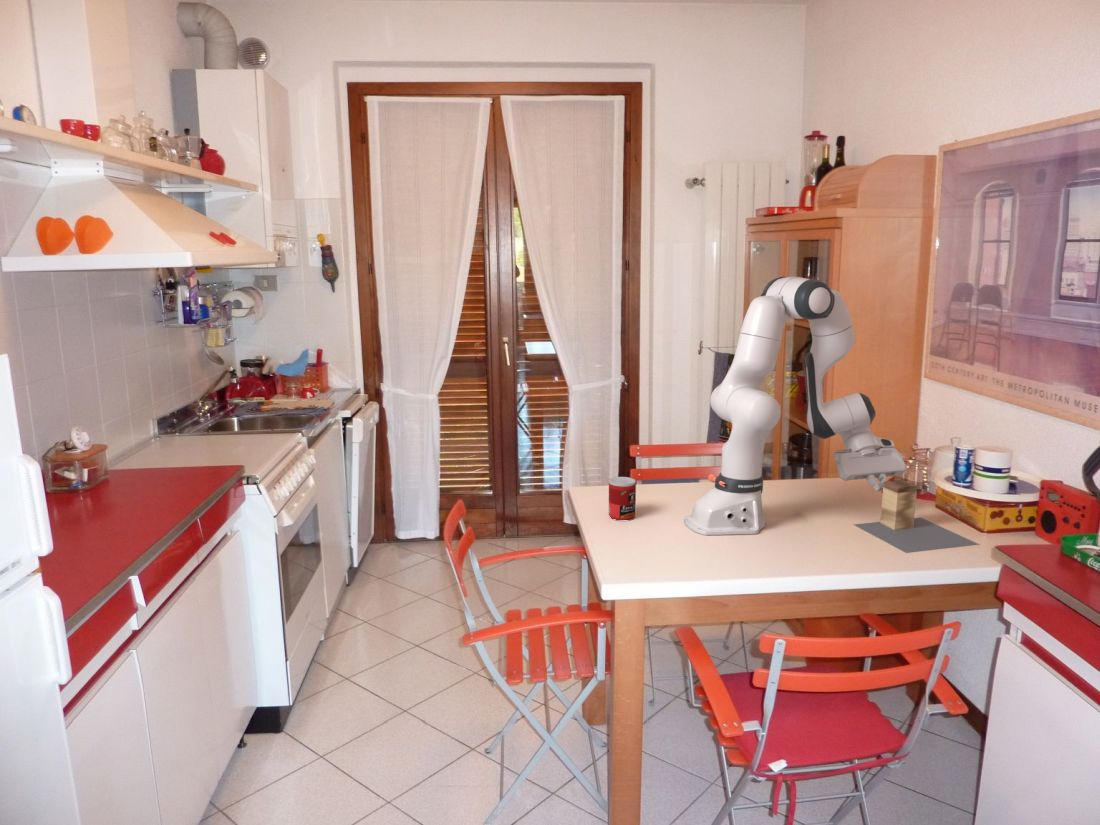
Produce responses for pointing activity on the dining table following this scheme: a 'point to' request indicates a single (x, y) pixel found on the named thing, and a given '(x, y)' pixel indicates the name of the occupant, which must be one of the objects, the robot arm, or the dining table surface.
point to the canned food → (622, 498)
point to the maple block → (898, 504)
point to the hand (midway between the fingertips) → (881, 489)
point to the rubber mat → (917, 536)
